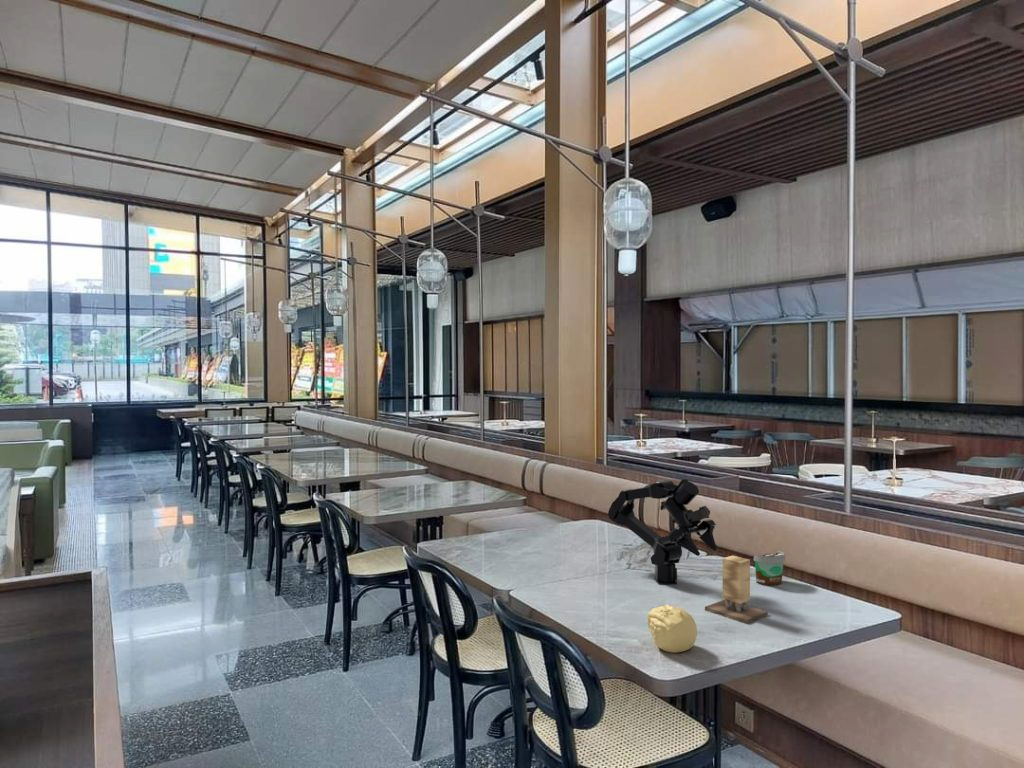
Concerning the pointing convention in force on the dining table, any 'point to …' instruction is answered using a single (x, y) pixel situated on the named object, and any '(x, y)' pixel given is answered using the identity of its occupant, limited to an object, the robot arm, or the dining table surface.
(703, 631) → the dining table surface
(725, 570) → the oak block
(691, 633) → the sculpture
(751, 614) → the peg base
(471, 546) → the dining table surface
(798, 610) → the dining table surface
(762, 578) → the food container
